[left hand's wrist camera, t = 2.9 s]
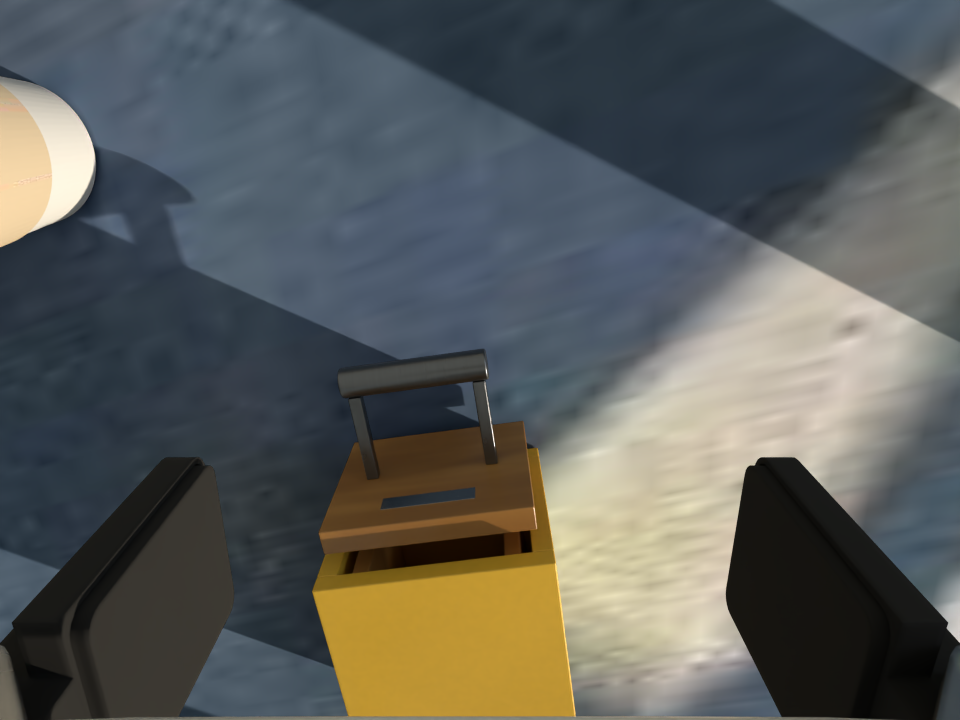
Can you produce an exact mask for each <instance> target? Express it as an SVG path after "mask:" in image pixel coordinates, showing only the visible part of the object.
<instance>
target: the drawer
mask: <svg viewBox="0 0 960 720" xmlns="http://www.w3.org/2000/svg"><path fill="white" fill-rule="evenodd" d="M488 378H489V371H488V363H487V356H486V351H485V349H477V350H470V351H463V352H455V353H448V354H441V355H433V356H426V357H419V358H411V359H404V360H397V361H389V362H382V363H375V364H367V365H360V366H353V367H345V368H340V369H339V371H338V387H339V391H340V394H341V396H342V397H343V398H349V399H348V401H349V405H350V409H351V414H352V418H353V422H354V426H355V430H356V435H357V439H358V442H357V443H354V445H353V448H352V450H351V453H350V455H349V458H348V460H347V463H346V465H345V468H344V470H343V473H342V475H341V478H340V480H339V483H338V485H337V488H336V490H335V493H334V495H333V498H332V500H331V503H330V505H329V508H328V510H327V513H326V515H325V518H324V520H323V523H322V525H321V528H320V530H319V537H320V540H321V544H322V548H323V551H324V554H325V555H327V554H335V553H343V552H352V551H359V552H358V556H357V559H356V563H355V566H354V570H353V573H361V572H369V571H378V570H386V569H395V568H403V567H412V566H420V565H429V564H437V563H446V562H454V561H463V560H471V559H480V558H488V557H496V556H505V555H513V554H522V553H527V551H526V544H525V538H524V531H527V530H535V529H537V522H536V515H535V507H534V499H533V491H532V484H531V476H530V468H529V460H528V452H527V445H526V437H525V430H524V422H523V421H519V422H511V423H503V424H496V425H492V418H491V412H490V406H489V399H488V393H487V386H486V380H487V379H488ZM472 381H473V389H474V395H475V401H476V407H477V413H478V419H479V426H480V427H472V428H465V429H457V430H449V431H442V432H434V433H426V434H418V435H411V436H403V437H395V438H388V439H380V440H373V439H372V434H371V430H370V426H369V421H368V417H367V412H366V408H365V404H364V399H363V396H367V395H375V394H382V393H389V392H397V391H404V390H412V389H419V388H427V387H434V386H442V385H449V384H457V383H464V382H472Z"/></svg>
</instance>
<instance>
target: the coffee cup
mask: <svg viewBox="0 0 960 720" xmlns="http://www.w3.org/2000/svg"><path fill="white" fill-rule="evenodd" d="M95 174H96V160H95V153H94V148H93V145H92V142H91V139H90V136H89V134H88V132H87V130H86V128H85V126H84V125H83V123H82V121H81V120H80V118H79V117H78V116H77V114H76V113H75V112H74V111H73V110H72V108H71V107H70V106H69V105H68V104H67V103H65V102H64V101H63V100H62V99H61V98H60V97H58V96H57V95H55V94H54V93H52V92H51V91H49V90H47V89H45V88H43V87H41V86H39V85H36V84H33V83H30V82H26V81H21V80H16V79H11V78H6V77H0V247H2V246H4V245H7V244H9V243H12V242H14V241H16V240H18V239H20V238H21V237H23V236H24V235H26V234H27V233H30V232H32V231H35V230H37V229H40V228H43V227H45V226H48V225H50V224H53V223H55V222H58V221H61V220H63V219H65V218H67V217H69V216H71V215H72V214H74V213H75V212H76V211H78V210H79V209H80V208H81V207H82V205H83V204H84V203H85V202H86V200H87V199H88V197H89V195H90V193H91V191H92V188H93V185H94V181H95Z"/></svg>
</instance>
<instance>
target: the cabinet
mask: <svg viewBox="0 0 960 720" xmlns="http://www.w3.org/2000/svg"><path fill="white" fill-rule="evenodd" d="M527 452H528V460H529V468H530V476H531V484H532V491H533V499H534V507H535V515H536V522H537V529H535V530H527V531H524V538H525V544H526V551H527V553H522V554H513V555H505V556H496V557H488V558H480V559H471V560H463V561H454V562H446V563H437V564H429V565H420V566H412V567H403V568H395V569H386V570H378V571H369V572H361V573H353V570H354V566H355V563H356V559H357V556H358V552H359V551H352V552H343V553H335V554H327V555H325V557H324V560H323V562H322V565H321V568H320V571H319V573H318V576H317V579H316V582H315V585H314V588H313V590H312V593H313V596H314V600H315V603H316V607H317V610H318V614H319V617H320V621H321V624H322V627H323V631H324V634H325V638H326V641H327V645H328V648H329V651H330V655H331V658H332V662H333V665H334V669H335V672H336V676H337V679H338V682H339V686H340V689H341V693H342V696H343V700H344V703H345V707H346V710H347V713H348V716H575V708H574V700H573V692H572V684H571V677H570V669H569V661H568V653H567V645H566V638H565V630H564V622H563V614H562V606H561V599H560V591H559V583H558V575H557V567H556V560H555V554H554V548H553V542H552V535H551V529H550V523H549V517H548V510H547V504H546V498H545V492H544V486H543V479H542V473H541V467H540V461H539V454H538V449H537V448H531V449H527Z"/></svg>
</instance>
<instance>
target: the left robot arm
mask: <svg viewBox="0 0 960 720" xmlns="http://www.w3.org/2000/svg"><path fill="white" fill-rule="evenodd" d="M233 601H234V587H233V581H232V575H231V569H230V562H229V556H228V550H227V544H226V538H225V532H224V526H223V520H222V513H221V507H220V501H219V495H218V489H217V483H216V477H215V472H214V469H213V467H211V466H205V464H204V462H203V460H202V459H201V458H199V457H168V458H164V459H163V460H162V461H161V462H160V463H159V464H158V465H157V466H156V467H155V468H154V469H153V470H152V471H151V472H150V474H149V475H148V476H147V477H146V478H145V479H144V480H143V481H142V482H141V483H140V484H139V485H138V487H137V488H136V489H135V490H134V491H133V492H132V493H131V494H130V495H129V496H128V497H127V498H126V500H125V501H124V502H123V503H122V504H121V505H120V506H119V507H118V508H117V509H116V510H115V511H114V513H113V514H112V515H111V516H110V517H109V518H108V519H107V520H106V521H105V522H104V523H103V524H102V526H101V527H100V528H99V529H98V530H97V531H96V532H95V533H94V534H93V535H92V536H91V537H90V539H89V540H88V541H87V542H86V543H85V544H84V545H83V546H82V547H81V548H80V549H79V550H78V552H77V553H76V554H75V555H74V556H73V557H72V558H71V559H70V560H69V561H68V562H67V563H66V565H65V566H64V567H63V568H62V569H61V570H60V571H59V572H58V573H57V574H56V575H55V576H54V578H53V579H52V580H51V581H50V582H49V583H48V584H47V585H46V586H45V587H44V588H43V589H42V591H41V592H40V593H39V594H38V595H37V596H36V597H35V598H34V599H33V600H32V601H31V602H30V604H29V605H28V606H27V607H26V608H25V609H24V610H23V611H22V612H21V613H20V614H19V615H18V617H17V618H16V619H15V620H14V621H13V622H12V625H13V628H14V629H13V630H12V631H11V632H10V633H9V634H8V635H7V636H6V637H5V638H4V640H3V641H2V642H1V643H0V720H960V643H959V642H958V641H957V640H956V638H955V637H954V636H953V635H952V634H951V633H950V632H949V631H948V630H947V629H946V628H947V625H948V622H947V621H946V620H945V619H944V618H943V617H942V615H941V614H940V613H939V612H938V611H937V610H936V609H935V608H934V607H933V606H932V605H931V604H930V602H929V601H928V600H927V599H926V598H925V597H924V596H923V595H922V594H921V593H920V592H919V591H918V589H917V588H916V587H915V586H914V585H913V584H912V583H911V582H910V581H909V580H908V579H907V578H906V576H905V575H904V574H903V573H902V572H901V571H900V570H899V569H898V568H897V567H896V566H895V565H894V563H893V562H892V561H891V560H890V559H889V558H888V557H887V556H886V555H885V554H884V553H883V552H882V550H881V549H880V548H879V547H878V546H877V545H876V544H875V543H874V542H873V541H872V540H871V539H870V537H869V536H868V535H867V534H866V533H865V532H864V531H863V530H862V529H861V528H860V527H859V526H858V524H857V523H856V522H855V521H854V520H853V519H852V518H851V517H850V516H849V515H848V514H847V513H846V511H845V510H844V509H843V508H842V507H841V506H840V505H839V504H838V503H837V502H836V501H835V500H834V498H833V497H832V496H831V495H830V494H829V493H828V492H827V491H826V490H825V489H824V488H823V487H822V485H821V484H820V483H819V482H818V481H817V480H816V479H815V478H814V477H813V476H812V475H811V474H810V472H809V471H808V470H807V469H806V468H805V467H804V466H803V465H802V464H801V463H800V462H799V461H798V460H797V459H796V458H792V457H761V458H759V459H758V460H757V462H756V464H755V466H749V467H747V469H746V472H745V477H744V483H743V489H742V495H741V501H740V507H739V513H738V520H737V526H736V532H735V538H734V544H733V550H732V556H731V562H730V569H729V575H728V581H727V587H726V601H727V606H728V610H729V612H730V615H731V617H732V619H733V621H734V623H735V625H736V627H737V629H738V631H739V633H740V635H741V637H742V639H743V641H744V643H745V645H746V647H747V649H748V651H749V653H750V654H751V656H752V658H753V660H754V662H755V664H756V666H757V668H758V670H759V672H760V674H761V676H762V678H763V680H764V682H765V684H766V686H767V688H768V690H769V692H770V694H771V696H772V698H773V700H774V702H775V704H776V706H777V708H778V710H779V712H780V714H781V716H782V717H676V716H284V717H178V716H179V714H180V712H181V710H182V708H183V706H184V704H185V702H186V700H187V698H188V696H189V694H190V692H191V690H192V688H193V686H194V684H195V682H196V680H197V678H198V676H199V674H200V672H201V670H202V668H203V666H204V664H205V662H206V660H207V658H208V656H209V654H210V653H211V651H212V649H213V647H214V645H215V643H216V641H217V639H218V637H219V635H220V633H221V631H222V629H223V627H224V625H225V623H226V621H227V619H228V617H229V615H230V612H231V610H232V606H233Z"/></svg>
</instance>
